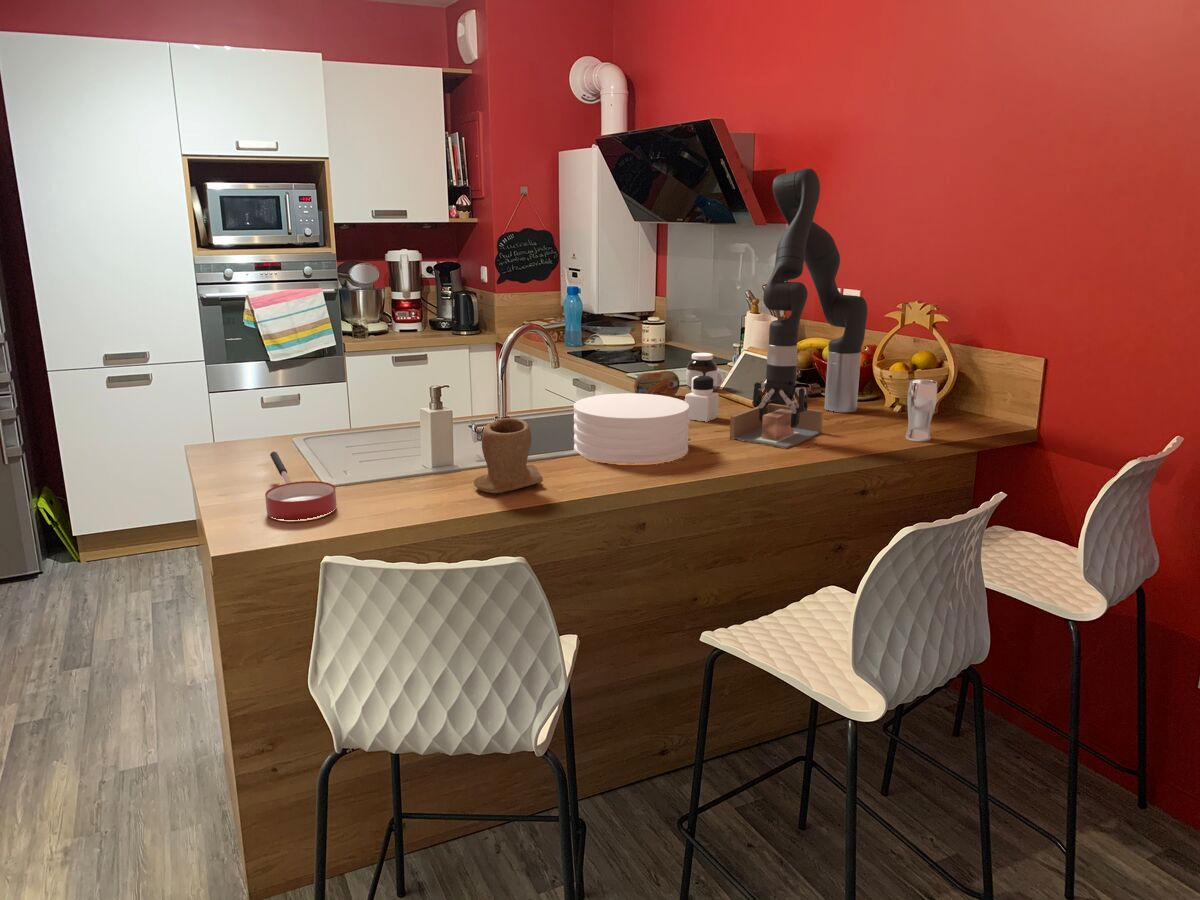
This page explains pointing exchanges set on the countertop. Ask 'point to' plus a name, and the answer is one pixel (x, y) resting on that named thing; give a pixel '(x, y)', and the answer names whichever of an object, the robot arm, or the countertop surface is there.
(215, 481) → the countertop surface
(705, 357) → the spread jar
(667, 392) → the tin
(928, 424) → the beer glass
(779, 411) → the block
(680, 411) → the plate stack
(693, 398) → the medicine bottle
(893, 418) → the countertop surface
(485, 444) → the stone cup
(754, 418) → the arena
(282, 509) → the frying pan
